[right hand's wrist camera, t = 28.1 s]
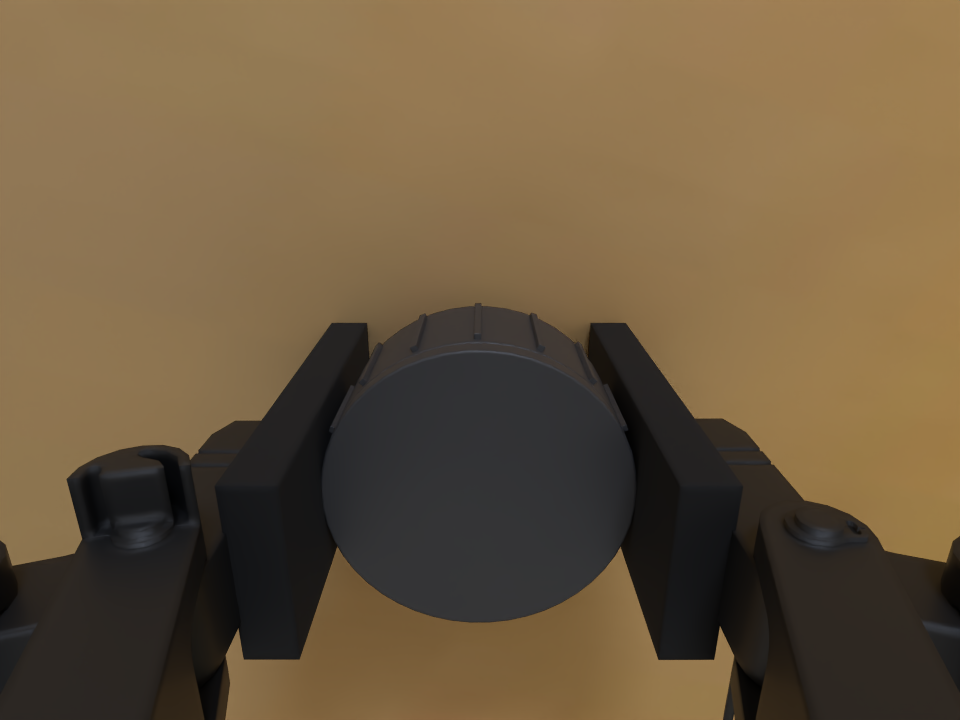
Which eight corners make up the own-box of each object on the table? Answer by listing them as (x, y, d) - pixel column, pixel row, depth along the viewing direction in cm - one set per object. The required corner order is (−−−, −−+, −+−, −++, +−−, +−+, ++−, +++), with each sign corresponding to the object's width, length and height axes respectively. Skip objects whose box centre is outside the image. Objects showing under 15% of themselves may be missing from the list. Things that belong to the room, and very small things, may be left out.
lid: (644, 331, 11) (681, 381, 9) (576, 558, 13) (594, 645, 11) (364, 278, 11) (336, 318, 9) (333, 518, 13) (303, 600, 11)
